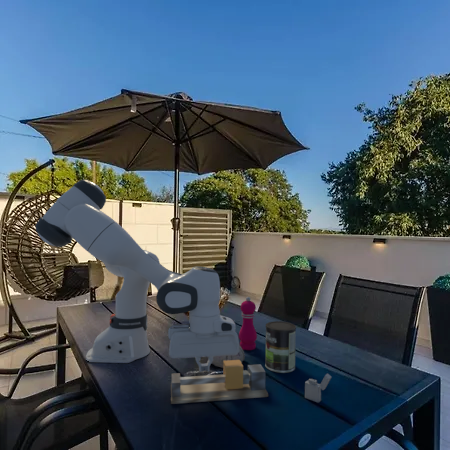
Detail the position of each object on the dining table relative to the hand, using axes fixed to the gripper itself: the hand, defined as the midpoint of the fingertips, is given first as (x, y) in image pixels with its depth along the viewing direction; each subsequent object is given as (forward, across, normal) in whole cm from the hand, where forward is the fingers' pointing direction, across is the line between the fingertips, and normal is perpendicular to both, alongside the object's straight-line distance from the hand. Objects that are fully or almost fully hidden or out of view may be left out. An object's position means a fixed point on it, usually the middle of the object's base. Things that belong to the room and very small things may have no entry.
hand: (204, 370), depth 95 cm
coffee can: (+6, +28, +13) cm, 31 cm away
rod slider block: (+6, +4, 0) cm, 7 cm away
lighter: (+6, +30, -10) cm, 33 cm away
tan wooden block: (+4, +8, 0) cm, 9 cm away
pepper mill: (+6, +21, +32) cm, 39 cm away
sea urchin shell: (+6, +10, +20) cm, 23 cm away
